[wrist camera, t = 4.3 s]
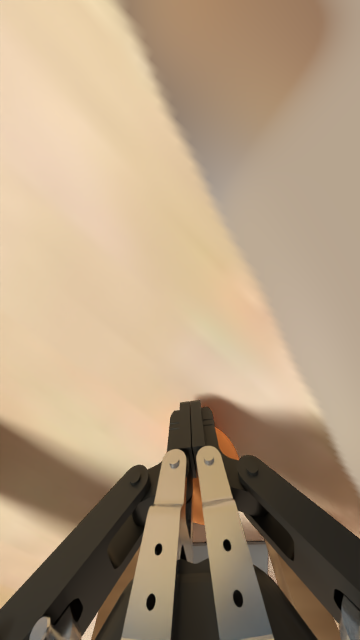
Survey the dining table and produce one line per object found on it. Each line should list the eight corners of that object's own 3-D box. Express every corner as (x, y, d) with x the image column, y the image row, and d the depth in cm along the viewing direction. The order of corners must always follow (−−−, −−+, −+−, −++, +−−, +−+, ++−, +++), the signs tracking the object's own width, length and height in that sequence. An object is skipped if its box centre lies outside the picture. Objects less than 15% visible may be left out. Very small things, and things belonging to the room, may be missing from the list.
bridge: (275, 508, 17) (371, 754, 8) (134, 513, 18) (85, 742, 9) (276, 486, 17) (382, 731, 8) (129, 493, 17) (70, 720, 9)
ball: (193, 410, 17) (203, 476, 16) (145, 433, 13) (153, 521, 12) (245, 417, 13) (264, 503, 12) (199, 450, 10) (219, 581, 8)
